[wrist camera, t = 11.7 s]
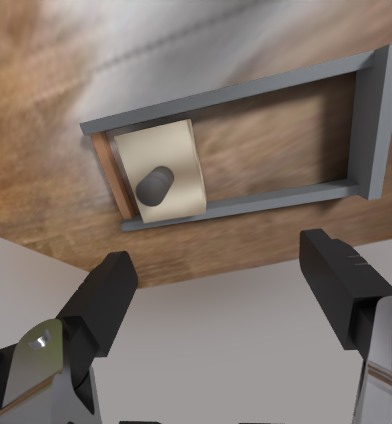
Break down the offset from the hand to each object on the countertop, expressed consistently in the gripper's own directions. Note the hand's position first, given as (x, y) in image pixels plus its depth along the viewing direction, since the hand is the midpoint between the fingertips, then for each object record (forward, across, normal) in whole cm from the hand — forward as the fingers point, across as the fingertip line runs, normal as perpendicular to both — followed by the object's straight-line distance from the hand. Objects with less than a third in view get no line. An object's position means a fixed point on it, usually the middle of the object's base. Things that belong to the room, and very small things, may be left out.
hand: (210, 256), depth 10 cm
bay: (+24, -1, 0) cm, 24 cm away
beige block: (+24, +7, 0) cm, 25 cm away
